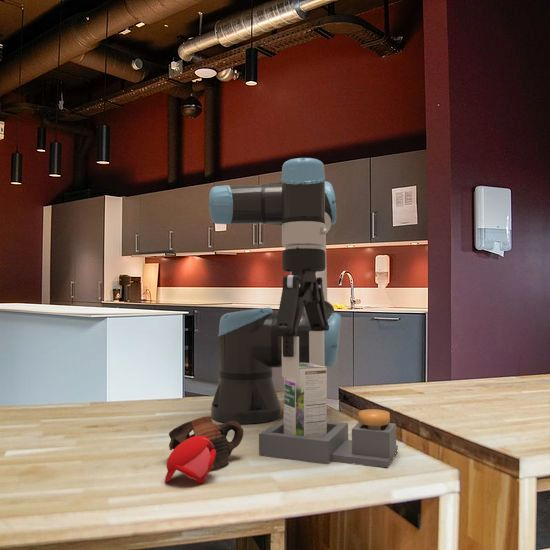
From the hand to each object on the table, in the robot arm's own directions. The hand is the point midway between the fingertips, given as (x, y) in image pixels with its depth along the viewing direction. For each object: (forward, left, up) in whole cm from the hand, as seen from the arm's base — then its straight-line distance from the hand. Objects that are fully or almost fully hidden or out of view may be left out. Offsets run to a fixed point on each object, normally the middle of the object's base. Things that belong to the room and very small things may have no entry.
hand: (304, 371), depth 91 cm
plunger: (+12, 0, -12) cm, 17 cm away
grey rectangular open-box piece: (+4, 0, -13) cm, 14 cm away
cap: (-11, -20, -14) cm, 26 cm away
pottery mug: (-13, -12, -14) cm, 22 cm away
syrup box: (0, 0, -14) cm, 14 cm away
